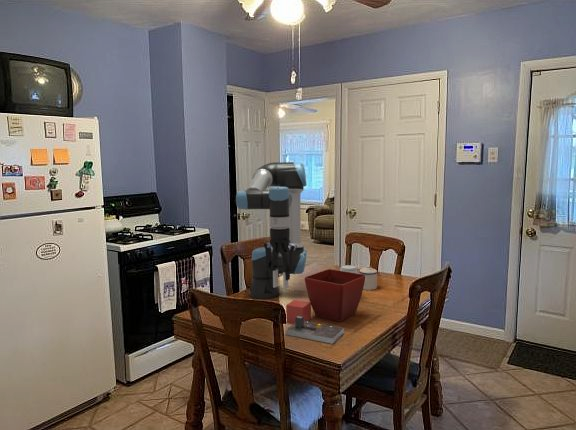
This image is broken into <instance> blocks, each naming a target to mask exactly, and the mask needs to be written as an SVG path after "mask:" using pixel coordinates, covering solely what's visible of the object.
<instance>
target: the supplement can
mask: <svg viewBox="0 0 576 430" xmlns="http://www.w3.org/2000/svg"><path fill="white" fill-rule="evenodd" d="M339 271H345V272H351V273H358V269H357V266H355V265H352V264H346V265H344V264H343V265H341V266H340V268H339Z"/></svg>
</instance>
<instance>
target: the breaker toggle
mask: <svg viewBox="0 0 576 430" xmlns="http://www.w3.org/2000/svg"><path fill="white" fill-rule="evenodd" d="M303 326H304V317H301V316H297V317H296V318H295V327H299V328H301V327H303Z"/></svg>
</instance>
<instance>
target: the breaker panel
mask: <svg viewBox="0 0 576 430" xmlns="http://www.w3.org/2000/svg"><path fill="white" fill-rule="evenodd" d="M344 333H345V327H340V326H335V325H334V324H329V325H328V324H323V322H313V321H310V320H308V321H304V326H303V327H301V328H299V327H295V323H292V325H290V326H289V327H287V328H286V329H285V335H287V336H291V337H296V338H301V339H306V340H311V341H315V342H320V343H326V344H331V345H334V343H336V341H338V340H339V339H340V338H341V337H342V336H343V335H344Z"/></svg>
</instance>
